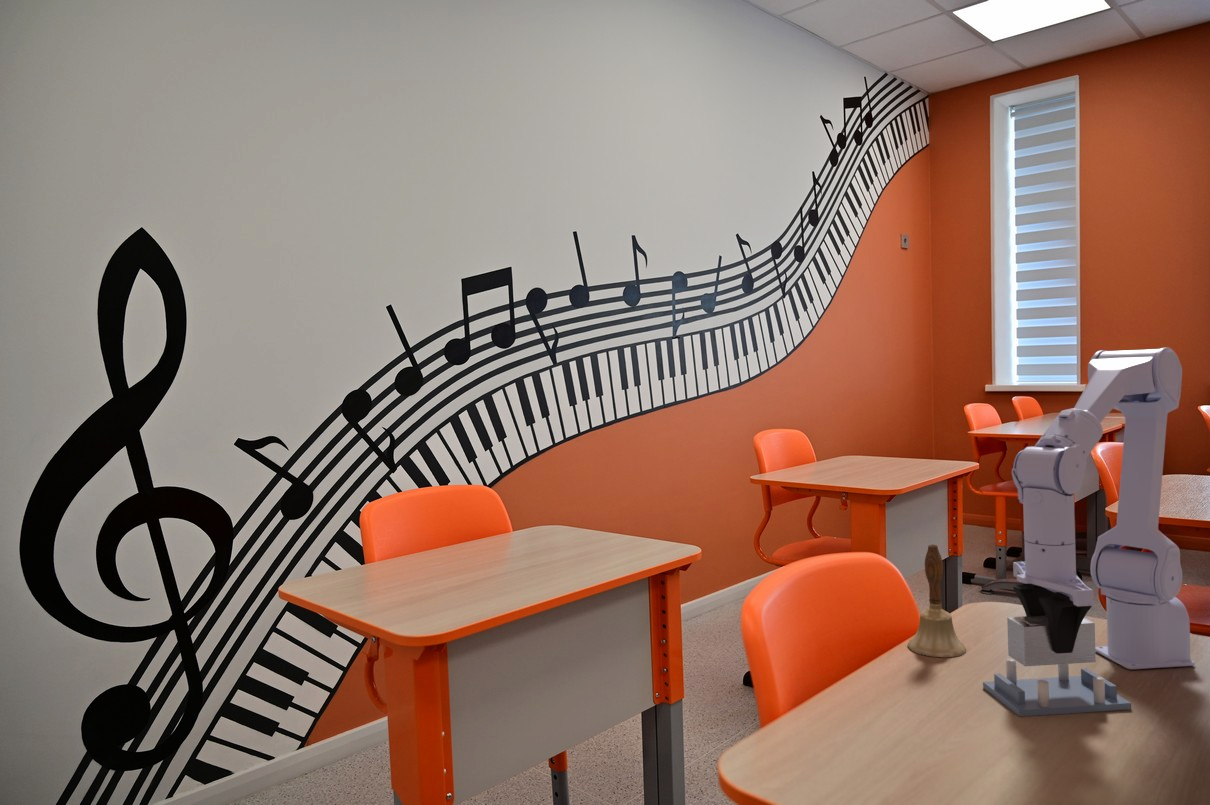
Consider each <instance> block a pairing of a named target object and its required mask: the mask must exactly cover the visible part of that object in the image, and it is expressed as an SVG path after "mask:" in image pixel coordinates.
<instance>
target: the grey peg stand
mask: <svg viewBox="0 0 1210 805" xmlns="http://www.w3.org/2000/svg"><path fill="white" fill-rule="evenodd" d="M1005 666H1006V667H1005V668H1006V669H1005V670H1006V677H1005V676H1004V675H1003V674H1001V673H994V674H993V675H994V676H993V677H994V678H993V679H994V680H993V681H991V680H990V681H982V687H983V689H984V690H986V691H987V692H988V693H989V694H990V695H992V696H993V697H994V698H995V699H997V700H998V701H999V702H1000V703H1002V704H1003V705H1004V706H1006V707H1007V709H1009V710H1011V711H1012V712H1013V713H1015V715H1017V716H1018V717H1030V716H1032V717H1034V716H1048V715H1063V714H1079V713H1080V714H1081V713H1095V712H1111V711H1126V710H1127V711H1129V710H1132V702H1130V701H1128V700H1127V699H1125V698H1124V697H1122V696H1121V695H1119V694H1118V692H1117V685H1116V684H1114V683H1112V682H1111V681H1109V680H1108V679H1106V678H1104V677H1102V676H1100V675H1099V674H1098V673H1096V672H1094V671H1092V670H1091V669H1089V668H1087V667H1085V668H1080V675H1073V676H1070V674H1069V672H1070V671H1069V670H1070V669H1069V664H1057V674H1058V677H1042V678H1041V677H1039V678H1024V679H1018V676H1017V674H1018V672H1017V661H1016V660H1015V659H1013V658H1006V659H1005Z"/></svg>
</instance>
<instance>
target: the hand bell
mask: <svg viewBox="0 0 1210 805" xmlns="http://www.w3.org/2000/svg"><path fill="white" fill-rule="evenodd" d="M927 547H928V548H927V551H926V554H925V559H924V573H925V577H926V579H927V583H928V588H929V589H928V590H929V607H928V609H924V610H922V611H921V612H920V614H919V624H918V628H917V630H916V633H915V634H914V636H913V637H912V638H911V639H909V640H908V643H907V647H909V648H908V649H909V650H910V649H911V650H910V651H912V652H913V651H914V653H915V652H916V653H915V654H917V655H918V654H919V655H921V654H923V655H922V656H924V655H926V657H929V656H930V657H931V658H938V657H942V659H944V658H945V659H947V658H946V657H952V658H956V657H960V656H963V655H964V654H965V653H966V652H967V648H966V646H965V644H964V643H963V642H962V641H961V640H960V639H959V638H958V636H957V634H956V631H955V628H954V623H953V617H952V614H951V613H950V612H948V611H946V610H945V609H943V607H942V594H941V582H942V579H943V575H944V574H943V573H944V563H943V559H942V555H941V553H940V551H939V547H938V545H937V544H928V545H927ZM943 657H944V658H943Z"/></svg>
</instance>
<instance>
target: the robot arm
mask: <svg viewBox="0 0 1210 805" xmlns="http://www.w3.org/2000/svg"><path fill="white" fill-rule="evenodd" d="M1182 378H1183V367H1182V364H1181V362H1180V359H1179V357H1178V354H1177V353H1176V352H1175V351H1174V350H1173V348H1171V347H1168V346H1167V347H1166V346H1165V347H1161V348H1149V349H1148V348H1147V349H1145V348H1144V349H1128V350H1124V349H1123V350H1104V349H1102V350H1098V351H1096V352H1095V353H1094V354H1093V356H1092V357H1091V359H1090V360H1089V362H1088V363H1087V379H1088V383H1087V385H1086V386H1085V388H1084V389H1083V392H1081V395H1080V396H1079V398H1078V400H1077V402H1076V404H1075V405H1074V407H1073V408H1068V409H1064V410H1060V412H1059V413H1058V414H1057V416H1056V417H1055V419H1054V420H1053V421H1052V422H1051V423H1050V425H1049V427H1048V428H1047V429H1046V430H1045V432H1044V433H1043V434H1042V435H1041V437H1040V438H1039V439H1038V441H1037V442H1036V443H1035V445H1034V446H1032V445H1031V446H1026V447H1025V448H1024V449H1022V450H1020V451H1019V452H1018V453H1017V454H1016V455H1015V458H1014V461H1013V465H1012V466H1013V467H1012V469H1011V476H1012V477H1011V478H1012V481H1013V483H1014V485H1015V487H1016V489H1017V490H1016V491H1017V500H1019V503H1020V504H1021V505H1022V508H1023V510H1022V511H1023V532H1024V533H1023V539H1024V561H1014V562H1012V568H1013V569H1012V570H1013V577H1015V578H1016V581H1018V582H1020V583H1018V584H1014V585H1013V591H1014V592H1015V594H1016V596H1017V597H1018V599H1019V602H1020V603H1021V605H1022V607H1023V610H1024V612H1025V616H1040V615H1046V617H1047V620H1048V624H1049V630H1050V638H1051V644H1052V648H1053V651H1054V652H1055V653H1057V654H1060V653H1072V652H1073V648H1074V645H1075V641H1076V637H1077V634H1078V630H1079V627H1080V625H1081V623H1082V621H1083V619H1084V618H1085V617H1086V615H1087V614H1088V612H1089V611H1090V609H1091V608H1092V607H1093V606H1095V602H1094V600H1095V599H1094V598H1095V597H1094V589H1092V588H1090V587H1088V586H1087V585H1086V584H1085V582H1083V580H1081V578H1080V577H1079V576H1078V574H1077V562H1076V561H1077V558H1076V557H1077V556H1076V519H1075V516H1076V515H1075V493H1076V492H1078V491H1079V490H1080V489H1081V487H1082V486H1083V482H1084V477H1085V476H1084V475H1085V470H1086V468H1087V465H1088V461H1087V458H1088V457H1089V456H1090V454H1091V453H1092V451H1093V450H1094V449H1095V447H1096V446H1097V444H1098V443H1099V441H1100V440H1101V439H1102V437H1103V433H1104V429H1103V426H1102V423H1101V422H1102V421H1104V419H1105V418H1106V417H1107V415H1109V414H1110V412H1111V411H1112V410H1113V409H1114V410H1116V411H1118V412H1121V414H1122V415H1123V417H1124V419H1125V420H1124V421H1125V422H1124V432H1123V444H1122V456H1121V466H1120V468H1121V470H1120V479H1119V480H1120V481H1119V491H1118V492H1119V493H1118V503H1117V512H1116V513H1117V514H1116V524H1115V526H1114V527H1112V528H1110V529H1109V530H1107V531H1106V532H1104V533H1102V534H1101V535H1099V536H1098V537H1097V541H1096V543H1095V544H1096V545H1095V550H1094V553H1093V554H1092V557H1091V560H1090V571H1089V572H1090V576H1091V579H1092V581H1093V582H1094V584H1095V586H1096V587H1097V588H1099V589H1100V594H1101V595H1103V596H1106V597H1105V598H1106V600H1105V601H1106V630H1107V631H1106V634H1107V636H1106V638H1107V645H1104V646H1095V653H1097V654H1100V655H1101V656H1104V657H1105V658H1106V659H1109V660H1111V661H1113V662H1115V664H1119V665H1120V666H1122V667H1123V668H1126V669H1127V670H1143V669H1144V670H1145V669H1156V668H1157V669H1158V668H1159V669H1160V668H1161V669H1162V668H1174V667H1176V668H1177V667H1189V666H1190V667H1191V666H1195V663H1196V662H1195V661H1194V660H1192V659H1191V630H1190V629H1191V628H1190V626H1191V624H1190V622H1191V621H1190V616H1189V612H1188V610H1187V608H1186V606H1185V604H1184V603H1183V602H1182V601H1181V600H1180V599H1179V598H1177V596H1178V595H1179V593H1180V591H1181V587H1182V586H1183V585H1182V584H1183V569H1182V566H1181V565H1182V564H1181V551H1180V548H1179V546H1178V545H1177V544H1176V543H1175V542H1174V541H1172V540H1171V539H1170V538H1168V537H1167V536H1166V535H1165V534H1163V533H1162V531H1161V530H1159V522H1160V521H1159V520H1160V511H1161V510H1160V507H1161V497H1162V484H1163V471H1164V459H1165V449H1166V447H1165V446H1166V434H1167V423H1168V414H1169V413H1170V412H1172V411H1174V410H1177V409H1179V407H1180V406H1179V405H1180V400H1181V395H1182V394H1181V393H1182V382H1183V381H1182V380H1183V379H1182ZM1122 547H1133V548H1138V549H1139V548H1140V549H1144V550H1145V549H1146V550H1149V551H1152V552H1147V551H1139V550H1134V549H1133V550H1132V549H1126V548H1122Z"/></svg>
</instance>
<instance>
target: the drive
mask: <svg viewBox="0 0 1210 805" xmlns="http://www.w3.org/2000/svg"><path fill="white" fill-rule="evenodd" d="M1006 620H1007V624H1006V625H1007V645H1008V646H1007V651H1008V657H1011V659H1015V660H1016V662H1017V663H1019V664H1021V665H1022V666H1024V667H1036V666H1037V667H1038V666H1039V667H1040V666H1052V665H1053V666H1054V665H1055V666H1056V665H1057V666H1058V664H1068V665H1072V664H1085V663H1086V664H1087V663H1096V662H1097V661H1096V659H1097V657H1096V651H1095V647H1096V630H1095V629H1096V628H1095V627H1096V626H1095V625H1096V624H1095V622H1093V621H1091V620H1089V619H1088V618H1085V617H1084V619H1083V621H1082V623H1081V625H1080V627H1079V630H1078V634H1077V637H1076V641H1075V645H1074V648H1073V652H1072V653H1060V654H1057V653H1055V652H1054V651H1053V648H1052V644H1051V638H1050V630H1049V624H1048V620H1047V617H1046V615H1040V616H1026V615H1025V616H1023V615H1022V616H1012V617H1011V616H1008V617H1007V619H1006Z"/></svg>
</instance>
